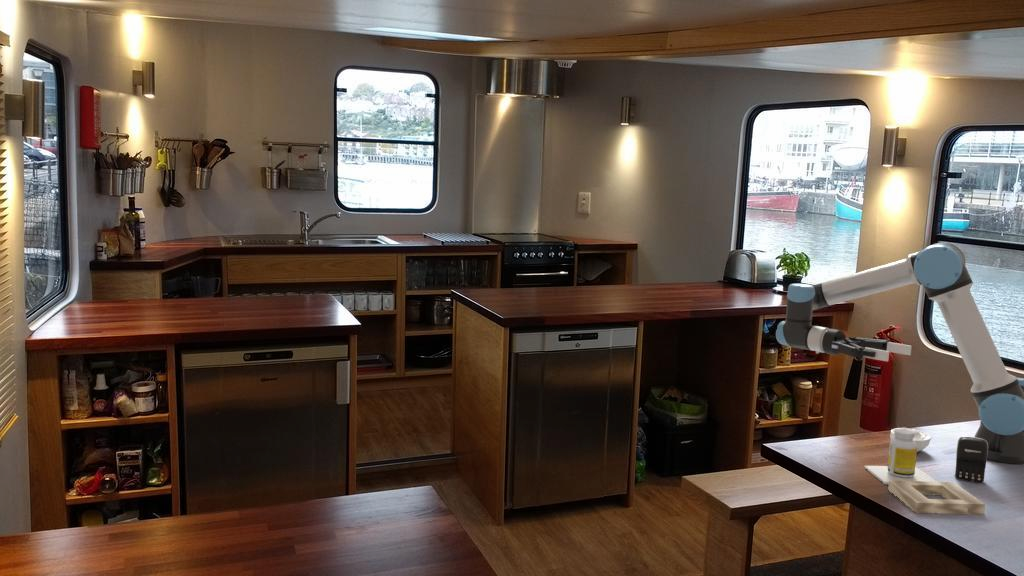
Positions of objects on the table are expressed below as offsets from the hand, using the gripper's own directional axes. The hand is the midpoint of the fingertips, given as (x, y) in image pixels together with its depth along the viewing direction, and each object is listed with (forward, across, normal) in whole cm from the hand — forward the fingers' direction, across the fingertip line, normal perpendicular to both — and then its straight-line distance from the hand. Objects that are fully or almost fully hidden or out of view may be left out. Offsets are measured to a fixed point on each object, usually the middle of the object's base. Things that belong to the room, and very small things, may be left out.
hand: (899, 353), depth 222 cm
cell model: (0, -12, -30) cm, 32 cm away
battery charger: (+21, +1, -30) cm, 37 cm away
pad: (+8, +12, -30) cm, 34 cm away
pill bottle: (+8, +12, -30) cm, 33 cm away
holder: (+21, +23, -30) cm, 44 cm away
